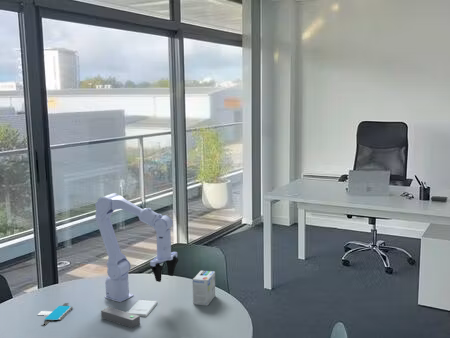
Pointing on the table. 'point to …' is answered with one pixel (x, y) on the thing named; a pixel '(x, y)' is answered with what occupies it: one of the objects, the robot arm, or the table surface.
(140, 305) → the external hard drive
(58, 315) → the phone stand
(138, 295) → the table surface
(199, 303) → the light bulb box
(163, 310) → the table surface
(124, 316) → the charging dock
